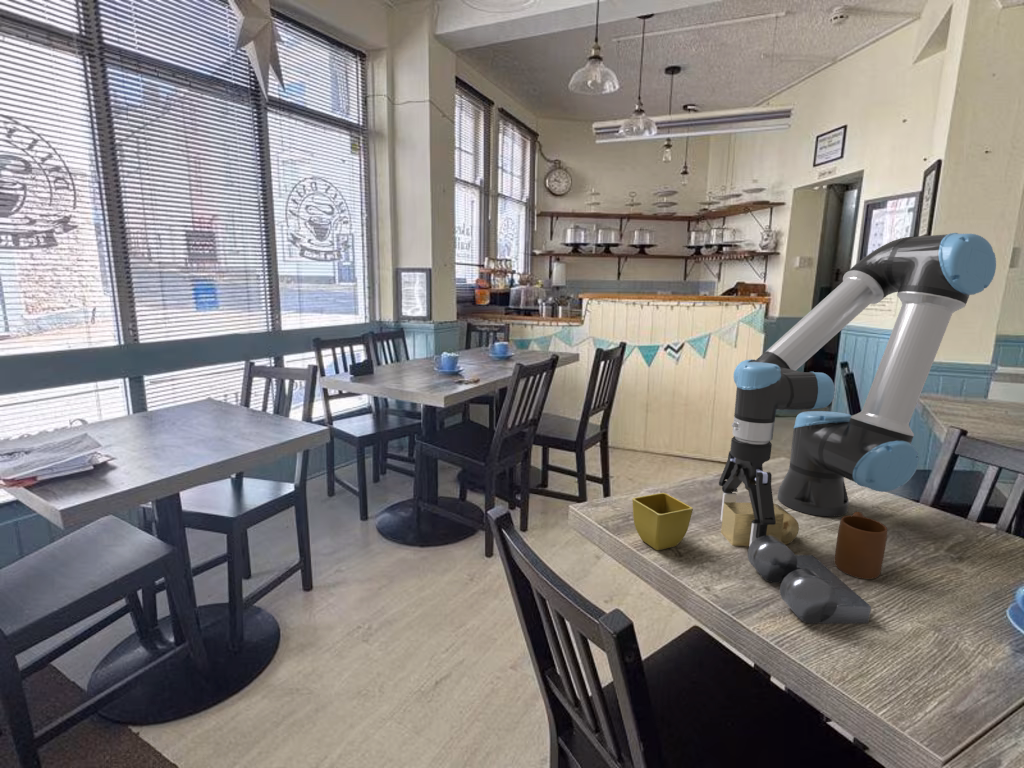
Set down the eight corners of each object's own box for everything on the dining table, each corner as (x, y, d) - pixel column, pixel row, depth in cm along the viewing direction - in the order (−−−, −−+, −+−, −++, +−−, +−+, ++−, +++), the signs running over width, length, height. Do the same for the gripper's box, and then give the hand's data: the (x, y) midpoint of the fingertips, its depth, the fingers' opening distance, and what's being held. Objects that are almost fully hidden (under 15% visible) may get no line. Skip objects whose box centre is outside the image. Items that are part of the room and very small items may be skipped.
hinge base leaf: (810, 569, 101) (815, 535, 100) (868, 623, 86) (874, 583, 84) (745, 569, 101) (749, 535, 100) (791, 623, 85) (797, 583, 84)
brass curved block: (782, 532, 116) (786, 502, 115) (796, 545, 111) (800, 514, 109) (720, 532, 116) (724, 502, 114) (732, 545, 110) (735, 513, 109)
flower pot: (661, 530, 116) (664, 491, 114) (690, 549, 108) (694, 507, 107) (628, 538, 112) (631, 498, 111) (656, 558, 105) (659, 515, 103)
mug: (829, 546, 111) (836, 503, 109) (873, 554, 107) (880, 511, 106) (835, 574, 100) (842, 527, 98) (883, 584, 97) (892, 536, 95)
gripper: (709, 422, 121) (700, 509, 125) (763, 459, 96) (751, 567, 100) (742, 422, 121) (732, 510, 125) (804, 459, 96) (790, 567, 101)
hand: (740, 535), depth 113 cm, fingers open, 13 cm apart
